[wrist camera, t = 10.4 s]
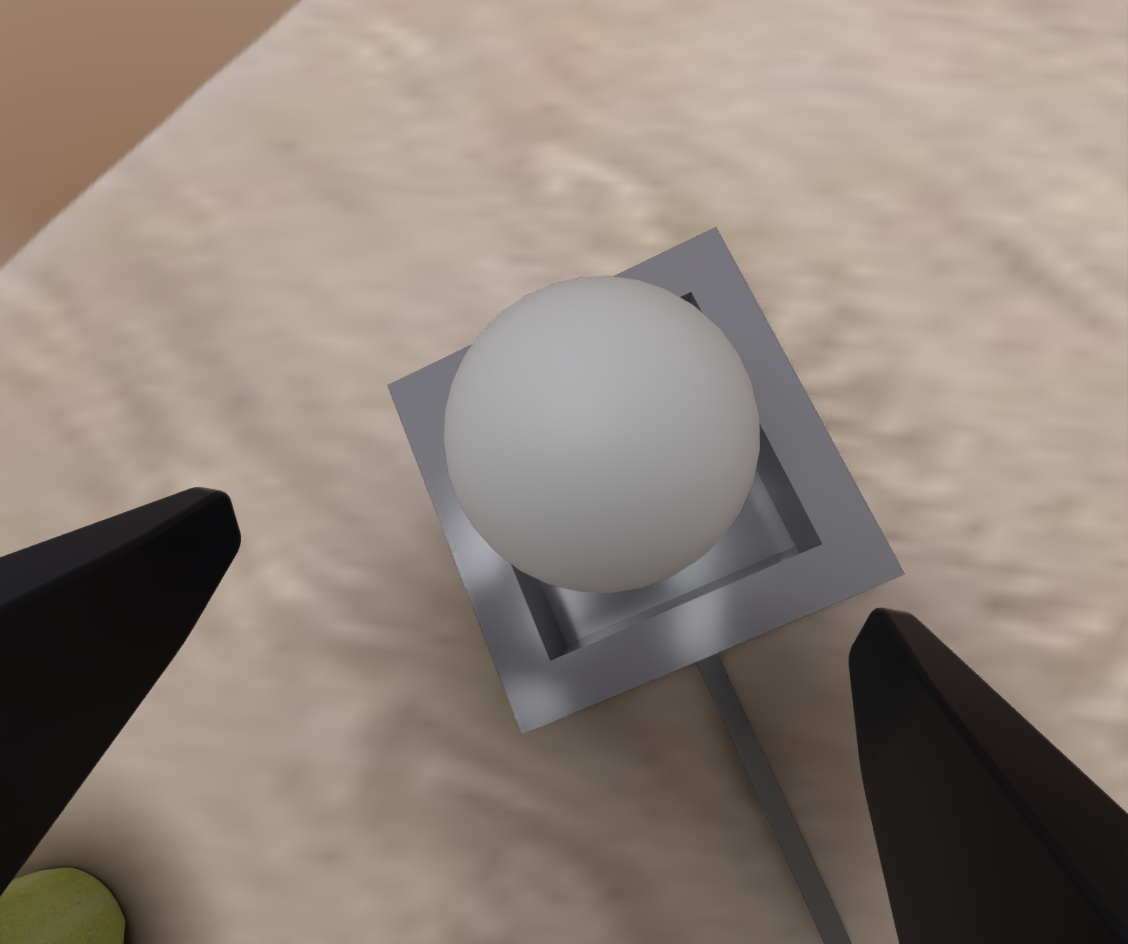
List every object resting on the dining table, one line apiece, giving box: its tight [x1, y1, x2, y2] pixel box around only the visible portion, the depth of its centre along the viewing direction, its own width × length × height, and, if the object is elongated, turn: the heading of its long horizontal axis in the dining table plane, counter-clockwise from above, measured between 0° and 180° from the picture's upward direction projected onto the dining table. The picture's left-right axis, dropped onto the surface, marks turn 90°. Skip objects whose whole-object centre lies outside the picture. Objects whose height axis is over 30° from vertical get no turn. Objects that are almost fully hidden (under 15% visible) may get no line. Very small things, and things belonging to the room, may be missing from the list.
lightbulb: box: [444, 276, 760, 593], centre depth 14 cm, size 6×6×11 cm
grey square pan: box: [387, 227, 905, 944], centre depth 17 cm, size 21×12×4 cm, turn 23°
